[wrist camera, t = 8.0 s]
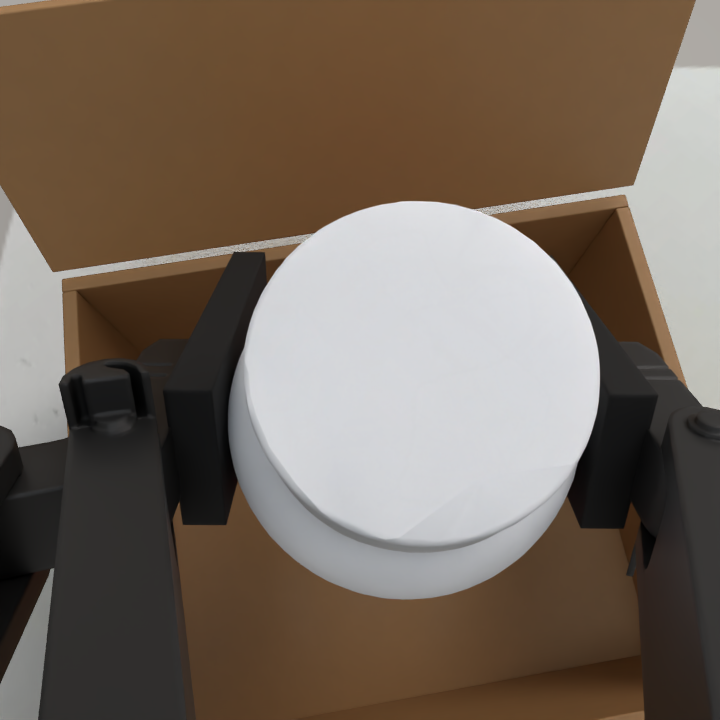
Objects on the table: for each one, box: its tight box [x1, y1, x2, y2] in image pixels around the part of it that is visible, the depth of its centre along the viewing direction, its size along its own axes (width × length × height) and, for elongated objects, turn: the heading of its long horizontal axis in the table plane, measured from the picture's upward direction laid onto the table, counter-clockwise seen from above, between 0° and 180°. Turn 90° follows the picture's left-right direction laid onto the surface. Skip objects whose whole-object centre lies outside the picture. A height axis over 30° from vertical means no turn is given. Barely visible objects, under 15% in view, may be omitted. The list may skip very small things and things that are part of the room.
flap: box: [0, 0, 696, 272], centre depth 17 cm, size 18×7×1 cm
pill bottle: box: [228, 201, 600, 600], centre depth 14 cm, size 6×6×11 cm
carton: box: [62, 195, 688, 720], centre depth 22 cm, size 18×15×7 cm
